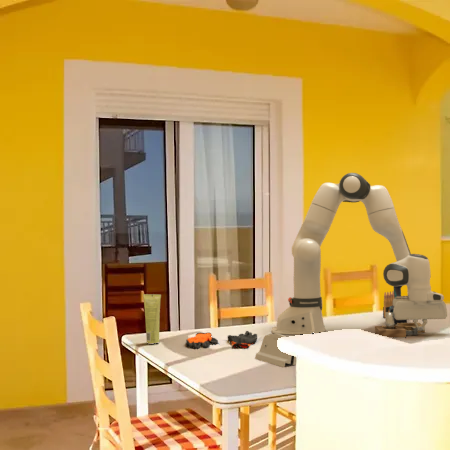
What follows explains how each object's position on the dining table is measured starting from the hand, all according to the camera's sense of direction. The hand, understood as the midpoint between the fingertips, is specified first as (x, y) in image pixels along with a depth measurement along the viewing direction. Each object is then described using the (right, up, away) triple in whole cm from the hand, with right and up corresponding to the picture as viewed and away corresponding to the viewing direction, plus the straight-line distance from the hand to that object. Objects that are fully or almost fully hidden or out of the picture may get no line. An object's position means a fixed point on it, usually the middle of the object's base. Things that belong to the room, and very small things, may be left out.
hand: (420, 330), depth 244 cm
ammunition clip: (+1, -2, +45) cm, 45 cm away
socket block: (-12, -2, +1) cm, 12 cm away
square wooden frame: (-1, -2, +9) cm, 9 cm away
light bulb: (-12, -2, +1) cm, 12 cm away
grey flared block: (-59, -4, -36) cm, 69 cm away
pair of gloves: (-78, -5, -1) cm, 78 cm away
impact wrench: (-1, -2, +30) cm, 30 cm away
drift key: (-6, -2, 0) cm, 6 cm away
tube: (-105, -6, +1) cm, 105 cm away
